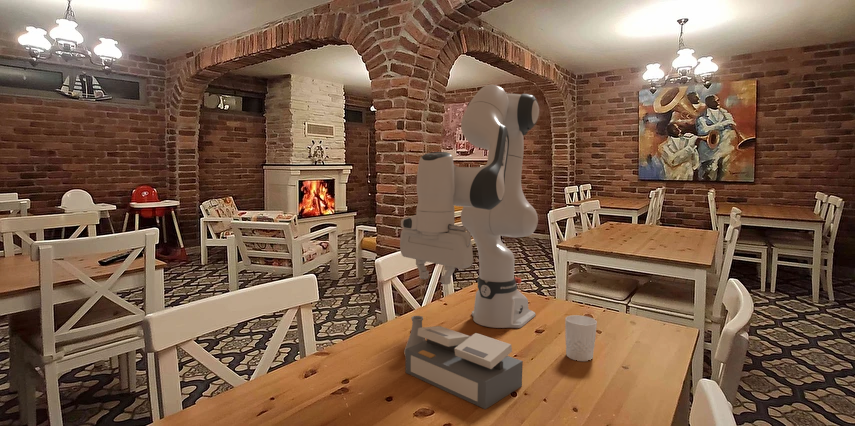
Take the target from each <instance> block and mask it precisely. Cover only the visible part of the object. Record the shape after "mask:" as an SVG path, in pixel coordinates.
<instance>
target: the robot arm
mask: <svg viewBox="0 0 855 426" xmlns="http://www.w3.org/2000/svg"><path fill="white" fill-rule="evenodd" d="M539 116H540V107H539V102H538V99H537V98H536V97H535V95H533V94H528V93H522V94H519V93H507V92H506V91H505V89H504V88H502V87H501V86H498V85H496V84H488V85H485V86H483V87H481V88H480V89H479V90H478V91H477V92H476V94H475V95H474V96H473V97H472V98H471V99H470V101H469V102H468V103H467V107H466V108H465V111H464V113H463V115H462V117H461V122H460V128H461V129H460V130H461V132H462V135H463V136H464V138H465V139H466V141H468V143H470V144H471V145H472V146H474V147H476V148H479V149H483V150H487V151H488V155H487V162H486V164H484V165H482V166H477V167H476V166H475V167H474V166H457V165H456V164H454V158H453V154H451V153H449V152H447V151H446V152H445V151H435V152H428V153H425V154H423V155H421V156H420V157H419V160H418V165H417V172H416V194H417V204H416V205H417V206H416V209H415V211H416V214H414V215H411V216H408V217H404V218H402V219H401V220H400V227H401V228H403V229H402V230H401V231H400V238H399V239H400V240H399V247H400V249H399V250H400V254H401V255H402V257H403V258H408V259H413V260H415V265H416V268H417V269H418V273H419V274H418V276H419V279H422V280H426V279H427V280H428V279H429V277H430V275H429V274H430V271H429V270H427V268H426V263H427V262H428V263H430V264H431V263H432V264H436V265H441V266H444V267H443V269H444V271H445V273H444V275H442V276H440V283H441V284H442V285H445V286H446V285H450V284H451V281H452V280H451V279H452V278H451V277H452V275H453V273H454V272H455V270H456V269H461V270H463V269H467V268H468V269H469V268H470V267H471V266H472V265H473V263H474V258H473V257H474V253H473V245H472V239H473V241H474V243H475V246H476V247H477V252H478V262H479V263H478V266H479V267H478V268H479V271H478V273H479V275H478V276H477V289H478V290H477V291H476V292H475V299H474V306H473V307H474V308H473V310H472V311H471V315H472V317H473V318H472V319H473V321H474V322H475V323H476V324H478V325H479V326H483V327H488V328H495V329H496V328H497V329H501V328H502V329H505V328H507V329H509V328H511V329H518V328H519V329H521V328H522V327H524V326H525V325H526V324H527V323H528V322H529V321H531V320H532V319H533V318H535V317H536V312H535V311H533V310H532V309H529V299H528V297H526V296H525V295H524V294H523V293H522V292H521V291H520V290H519V289H518V286H517V284H519V285H521V283H522V278H521V277H517V276H515V255H514V253H513V251H512V250H511V249H509V248H508V247H507V246H505V244H504V243H503V241H502V239H501V236H502V237H506V238H507V237H509V238H523V237H530V236H532V235H533V233H534V232H535V231H536V230H537V227H538V223H539V216H538V212H537V211H536V209H535V208H534V207H533V205H532V204H530V202H529V201H528V200H527V198H526V196H525V194H524V191H523V187H522V174H523V173H522V171H523V164H524V163H523V161H524V154H525V153H524V150H525V149H524V148H525V147H524V146H525V144H524V143H525V139H524V136H526V135H527V134H528V132H529V131H531V130H532V129H533V128H534V127H535V126H536V124H537V122H538V119H539ZM455 207H461V208H462V209H461V212H460V221H461V224H462V225H457V224H455V213H456V212H455V211H456V210H455Z"/></svg>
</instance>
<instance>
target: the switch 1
mask: <svg viewBox="0 0 855 426" xmlns="http://www.w3.org/2000/svg"><path fill="white" fill-rule="evenodd" d="M417 335H418V336H421V337H423V338H425V339H426V340H427V339H429V340H431V341H434V342H437V343H440V344H442V345H445V346H448V347H449V346H456V345H460V344H461V343H462V342H464V341H465V340H466V339H468V338H469V337H470V336H471V335H469V334H465V333H462V332H460V331H456V330H453V329H450V328H447V327H444V326H441V325H436V326H434V325H433V326H425V327H423V326H422V328H418V334H417Z"/></svg>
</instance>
